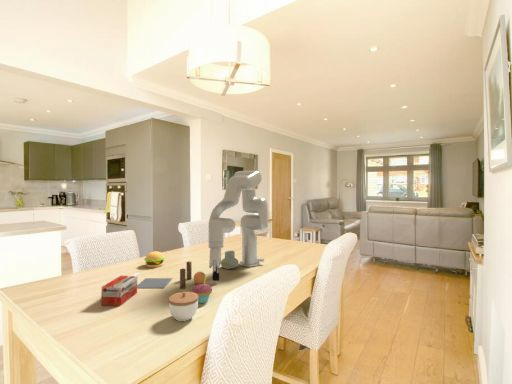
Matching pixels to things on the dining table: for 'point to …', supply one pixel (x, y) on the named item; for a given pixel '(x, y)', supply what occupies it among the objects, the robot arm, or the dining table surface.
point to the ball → (199, 277)
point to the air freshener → (229, 260)
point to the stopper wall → (137, 275)
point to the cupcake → (202, 291)
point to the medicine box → (119, 290)
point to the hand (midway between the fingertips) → (215, 280)
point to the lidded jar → (183, 305)
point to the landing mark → (154, 283)
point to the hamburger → (154, 259)
